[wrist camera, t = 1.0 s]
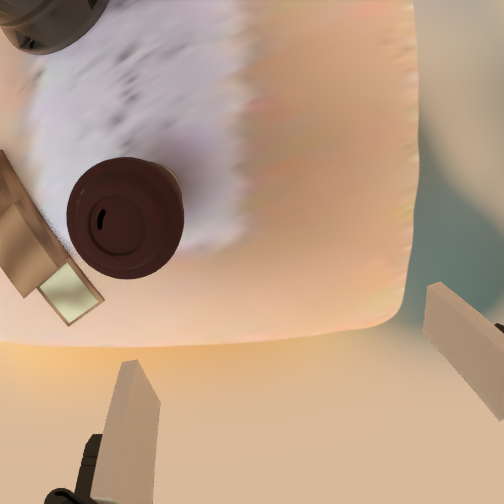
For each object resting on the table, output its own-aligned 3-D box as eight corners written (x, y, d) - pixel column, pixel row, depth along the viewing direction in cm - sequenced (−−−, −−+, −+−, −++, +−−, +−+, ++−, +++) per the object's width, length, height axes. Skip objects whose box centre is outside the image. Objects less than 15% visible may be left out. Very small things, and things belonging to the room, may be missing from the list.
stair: (-27, 186, 31) (-61, 198, 24) (2, 149, 31) (-33, 155, 24) (69, 325, 40) (49, 356, 33) (104, 299, 40) (87, 331, 32)
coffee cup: (209, 199, 37) (208, 237, 23) (147, 249, 38) (115, 310, 24) (157, 134, 34) (123, 130, 20) (96, 188, 35) (36, 219, 21)
